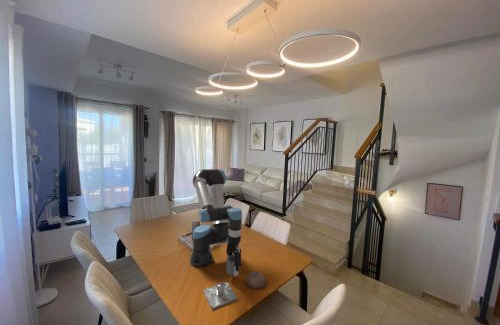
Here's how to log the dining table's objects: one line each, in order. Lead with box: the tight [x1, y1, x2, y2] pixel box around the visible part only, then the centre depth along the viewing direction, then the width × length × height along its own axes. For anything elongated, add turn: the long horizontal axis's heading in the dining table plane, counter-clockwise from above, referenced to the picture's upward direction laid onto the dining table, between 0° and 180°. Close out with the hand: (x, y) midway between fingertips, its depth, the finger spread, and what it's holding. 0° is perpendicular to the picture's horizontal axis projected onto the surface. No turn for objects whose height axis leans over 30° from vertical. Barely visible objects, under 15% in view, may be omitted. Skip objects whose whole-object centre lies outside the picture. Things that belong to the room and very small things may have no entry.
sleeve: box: [225, 254, 235, 276], centre depth 123 cm, size 8×8×8 cm
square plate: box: [202, 281, 239, 310], centre depth 109 cm, size 14×14×6 cm
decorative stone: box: [245, 271, 267, 290], centre depth 120 cm, size 12×12×6 cm
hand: (232, 270), depth 123 cm, fingers closed on sleeve, 8 cm apart
